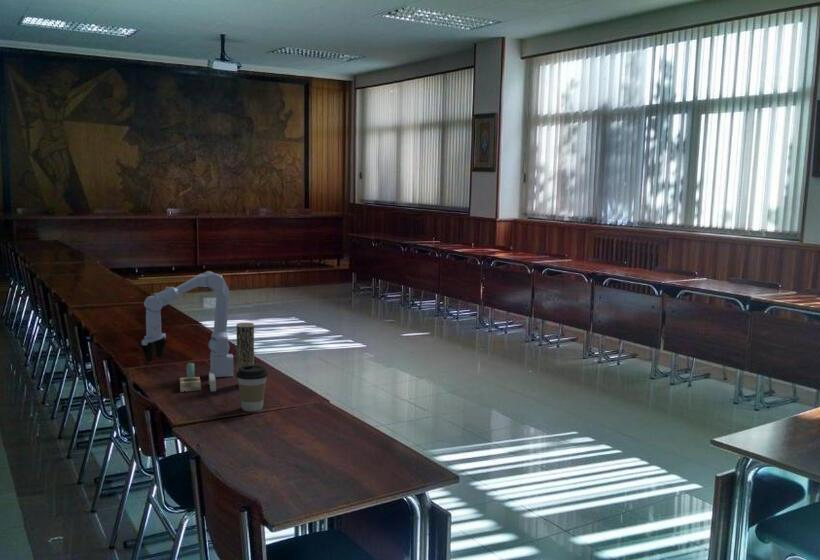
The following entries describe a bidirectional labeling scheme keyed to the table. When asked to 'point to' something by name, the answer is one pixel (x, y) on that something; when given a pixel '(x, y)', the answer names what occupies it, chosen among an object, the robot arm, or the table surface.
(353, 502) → the table surface
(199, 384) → the beige hollow square block
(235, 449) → the table surface
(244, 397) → the coffee cup
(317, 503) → the table surface
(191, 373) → the dowel
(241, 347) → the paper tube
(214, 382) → the wall
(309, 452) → the table surface
